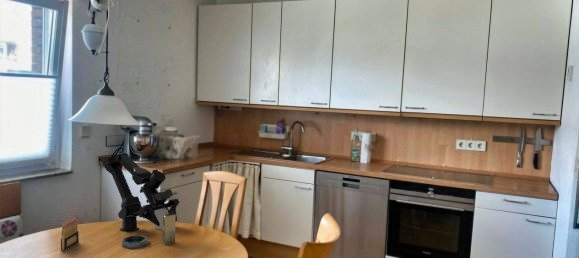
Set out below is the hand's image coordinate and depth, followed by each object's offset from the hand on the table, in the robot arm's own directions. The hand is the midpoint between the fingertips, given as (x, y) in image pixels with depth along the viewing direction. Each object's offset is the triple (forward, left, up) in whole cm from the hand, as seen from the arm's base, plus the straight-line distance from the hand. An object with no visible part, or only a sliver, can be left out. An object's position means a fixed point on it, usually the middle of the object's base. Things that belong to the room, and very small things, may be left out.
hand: (168, 223), depth 188 cm
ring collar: (-10, -9, -9) cm, 16 cm away
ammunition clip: (-30, -26, -9) cm, 41 cm away
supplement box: (-17, +15, -9) cm, 25 cm away
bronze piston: (+1, 0, -9) cm, 9 cm away
